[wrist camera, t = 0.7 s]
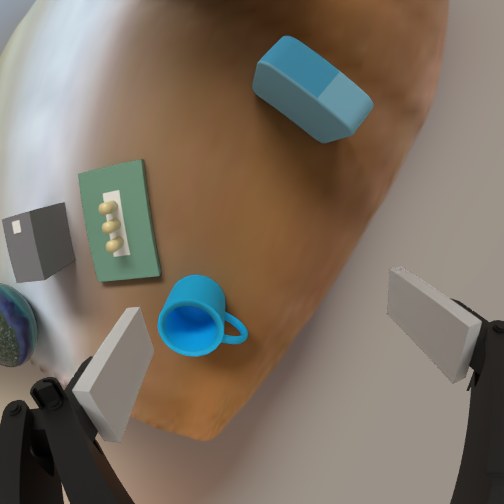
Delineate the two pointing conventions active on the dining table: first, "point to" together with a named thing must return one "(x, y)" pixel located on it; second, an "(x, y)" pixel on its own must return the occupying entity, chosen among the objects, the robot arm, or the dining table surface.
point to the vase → (16, 328)
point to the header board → (132, 219)
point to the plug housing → (38, 243)
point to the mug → (197, 317)
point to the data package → (310, 91)
